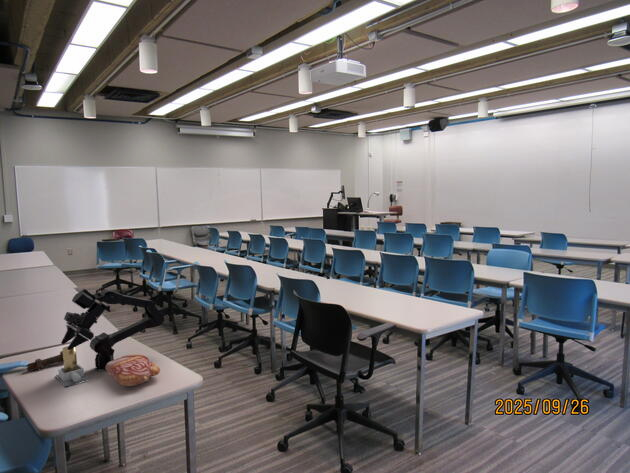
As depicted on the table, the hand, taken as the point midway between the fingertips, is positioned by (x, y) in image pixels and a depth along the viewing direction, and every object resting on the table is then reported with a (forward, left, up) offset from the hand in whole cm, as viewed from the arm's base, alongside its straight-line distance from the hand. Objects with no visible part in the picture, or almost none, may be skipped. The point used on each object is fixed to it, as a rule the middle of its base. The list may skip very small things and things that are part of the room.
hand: (65, 346), depth 176 cm
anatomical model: (-27, +1, -14) cm, 31 cm away
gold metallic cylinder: (-1, -1, -13) cm, 13 cm away
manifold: (-2, 0, -14) cm, 14 cm away
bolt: (+16, -13, -14) cm, 25 cm away
